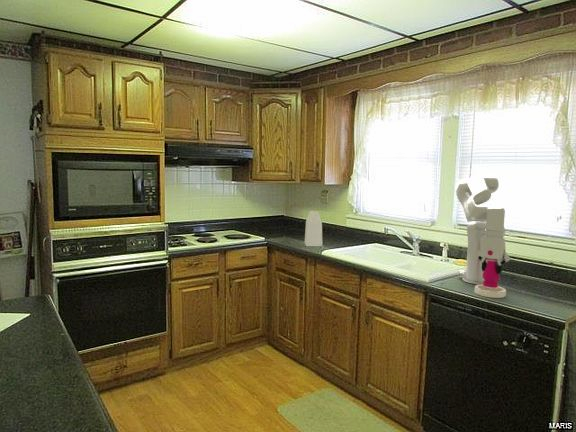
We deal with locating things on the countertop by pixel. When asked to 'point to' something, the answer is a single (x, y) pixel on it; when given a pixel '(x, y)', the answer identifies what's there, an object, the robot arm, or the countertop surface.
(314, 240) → the milk
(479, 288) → the ring holder
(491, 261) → the pepper mill
